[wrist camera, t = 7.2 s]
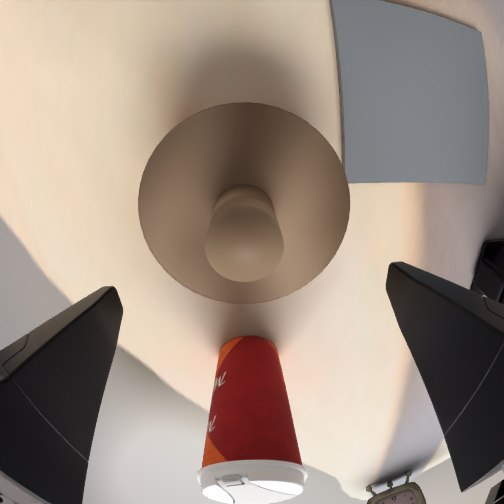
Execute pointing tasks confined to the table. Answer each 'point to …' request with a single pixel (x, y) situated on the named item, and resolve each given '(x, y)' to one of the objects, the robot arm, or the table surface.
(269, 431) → the paper cup
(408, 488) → the tabletop clock
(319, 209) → the lid
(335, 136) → the table surface
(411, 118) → the mat
